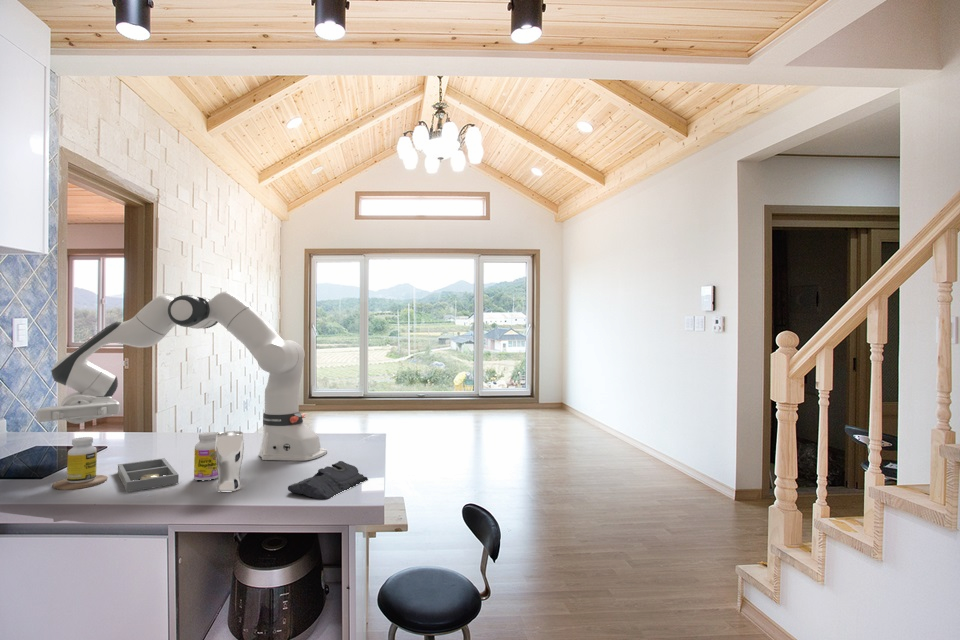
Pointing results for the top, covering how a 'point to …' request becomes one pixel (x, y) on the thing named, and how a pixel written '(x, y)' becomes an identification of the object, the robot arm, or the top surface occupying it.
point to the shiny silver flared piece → (229, 459)
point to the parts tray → (144, 468)
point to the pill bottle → (81, 461)
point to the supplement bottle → (205, 457)
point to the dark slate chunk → (329, 481)
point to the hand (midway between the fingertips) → (80, 414)
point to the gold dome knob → (149, 476)
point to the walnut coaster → (66, 485)
